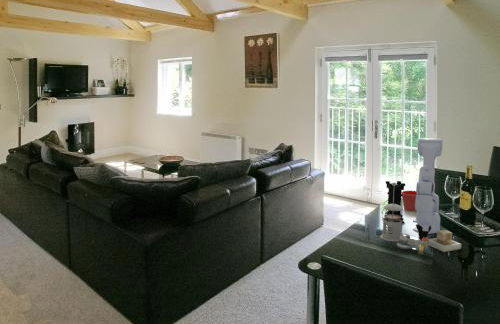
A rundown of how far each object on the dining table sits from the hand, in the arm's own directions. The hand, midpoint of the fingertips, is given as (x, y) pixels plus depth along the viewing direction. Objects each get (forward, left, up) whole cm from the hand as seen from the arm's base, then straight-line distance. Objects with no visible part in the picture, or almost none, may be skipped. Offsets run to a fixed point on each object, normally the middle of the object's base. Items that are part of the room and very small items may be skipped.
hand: (422, 242), depth 160 cm
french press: (+2, -16, -3) cm, 17 cm away
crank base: (+5, -1, -3) cm, 6 cm away
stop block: (-10, +2, -2) cm, 10 cm away
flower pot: (-39, -48, -3) cm, 62 cm away
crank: (+3, -1, -1) cm, 4 cm away
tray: (-10, +2, -3) cm, 10 cm away
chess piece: (-15, -34, -3) cm, 38 cm away
